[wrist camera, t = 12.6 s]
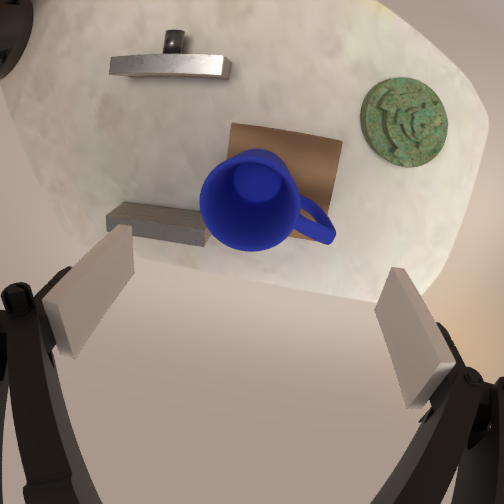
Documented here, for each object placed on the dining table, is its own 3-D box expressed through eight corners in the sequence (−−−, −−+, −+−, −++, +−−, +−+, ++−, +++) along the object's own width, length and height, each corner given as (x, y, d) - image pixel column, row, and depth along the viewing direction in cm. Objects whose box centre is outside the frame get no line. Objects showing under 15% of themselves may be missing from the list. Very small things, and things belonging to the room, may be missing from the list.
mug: (306, 236, 36) (313, 282, 28) (210, 195, 35) (186, 229, 26) (339, 175, 33) (360, 203, 24) (237, 129, 32) (220, 139, 23)
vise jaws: (134, 38, 28) (114, 31, 23) (235, 37, 28) (227, 27, 23) (124, 216, 38) (106, 231, 34) (213, 228, 38) (203, 246, 34)
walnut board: (232, 123, 32) (231, 123, 31) (340, 140, 32) (342, 141, 31) (221, 222, 38) (220, 225, 37) (319, 238, 37) (320, 241, 37)
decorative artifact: (348, 144, 32) (421, 175, 33) (364, 154, 26) (447, 191, 26) (374, 64, 28) (446, 101, 28) (395, 57, 21) (478, 105, 22)
